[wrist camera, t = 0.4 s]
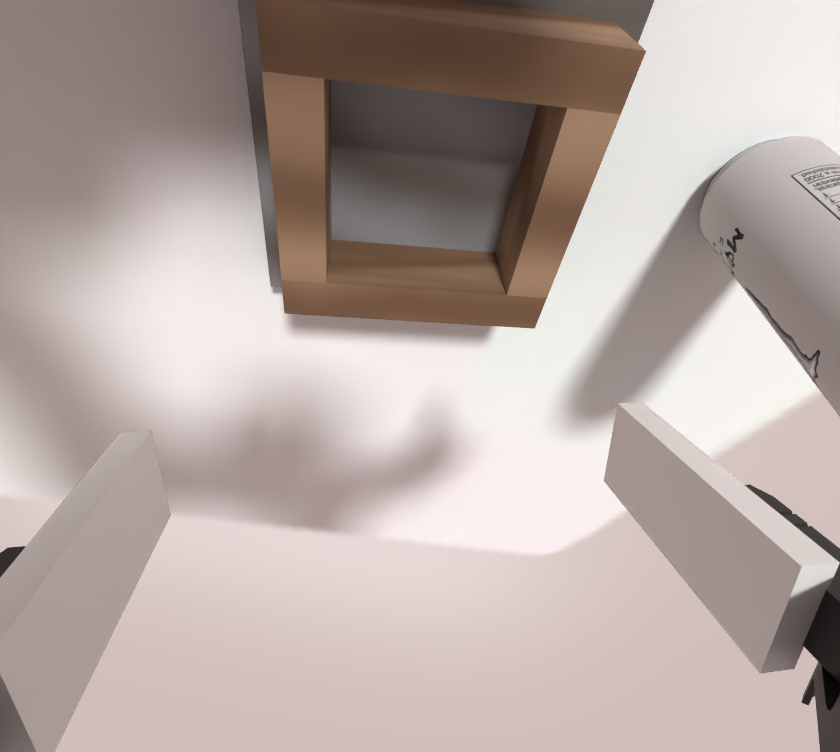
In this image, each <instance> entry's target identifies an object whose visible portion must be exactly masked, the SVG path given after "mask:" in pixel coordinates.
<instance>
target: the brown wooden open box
mask: <svg viewBox="0 0 840 752" xmlns="http://www.w3.org/2000/svg"><path fill="white" fill-rule="evenodd" d="M653 3H654V0H238V6H239V14H240V23H241V32H242V40H243V49H244V58H245V66H246V75H247V84H248V92H249V101H250V110H251V118H252V127H253V136H254V144H255V153H256V162H257V170H258V179H259V188H260V196H261V205H262V214H263V223H264V231H265V240H266V249H267V257H268V266H269V275H270V283H271V286H273V287H282V290H283V300H284V311H285V313H288V314H304V315H321V316H337V317H354V318H371V319H387V320H404V321H420V322H437V323H454V324H470V325H487V326H503V327H520V328H535V326H536V323H537V321H538V318H539V316H540V314H541V311H542V309H543V306H544V304H545V301H546V299H547V296H548V294H549V291H550V289H551V286H552V284H553V281H554V279H555V276H556V274H557V271H558V269H559V266H560V264H561V261H562V259H563V256H564V254H565V251H566V249H567V246H568V244H569V241H570V239H571V236H572V234H573V231H574V229H575V226H576V224H577V221H578V219H579V216H580V214H581V211H582V209H583V206H584V204H585V201H586V199H587V197H588V194H589V192H590V189H591V187H592V184H593V182H594V179H595V177H596V174H597V172H598V169H599V167H600V164H601V162H602V159H603V157H604V154H605V152H606V149H607V147H608V144H609V142H610V139H611V137H612V134H613V132H614V129H615V127H616V124H617V122H618V119H619V117H620V114H621V112H622V109H623V107H624V104H625V102H626V99H627V97H628V94H629V92H630V89H631V87H632V84H633V82H634V80H635V77H636V75H637V72H638V70H639V67H640V65H641V62H642V60H643V57H644V55H645V52H646V51H645V50H644V49H643V48H642V47H641V46H640V45H639V44H638V41H639V39H640V36H641V34H642V31H643V28H644V26H645V23H646V21H647V18H648V15H649V13H650V10H651V8H652V5H653Z"/></svg>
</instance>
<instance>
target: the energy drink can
mask: <svg viewBox="0 0 840 752" xmlns="http://www.w3.org/2000/svg"><path fill="white" fill-rule="evenodd" d="M699 220H700V229H701V231H702V233H703V235H704V237H705V238H706V240H707V241H708V242H709V244H710V245H711V246H712V248H713V249H714V250H715V251H716V253H717V254H718V255H719V257H720V258H721V259H722V261H723V262H724V263H725V265H726V266H727V267H728V269H729V270H730V271H731V273H732V274H733V275H734V277H735V278H736V279H737V281H738V282H739V283H740V285H741V286H742V287H743V289H744V290H745V291H746V293H747V294H748V295H749V297H750V298H751V299H752V301H753V302H754V303H755V305H756V306H757V307H758V309H759V310H760V311H761V313H762V314H763V315H764V317H765V318H766V319H767V321H768V322H769V323H770V325H771V326H772V327H773V329H774V330H775V331H776V333H777V334H778V335H779V337H780V338H781V339H782V341H783V342H784V343H785V345H786V346H787V347H788V348H789V350H790V351H791V352H792V354H793V355H794V356H795V358H796V359H797V360H798V362H799V363H800V364H801V366H802V367H803V368H804V370H805V371H806V372H807V374H808V375H809V376H810V378H811V379H812V380H813V382H814V383H815V384H816V386H817V387H818V388H819V390H820V391H821V392H822V394H823V395H824V396H825V398H826V399H827V400H828V402H829V403H830V404H831V406H832V407H833V408H834V410H835V411H836V412H837V414H838V415H839V416H840V156H839V155H838V154H836V153H835V152H834V151H832V150H831V149H830V148H829V147H827V146H826V145H825V144H823V143H822V142H821V141H819V140H816V139H814V138H811V137H804V136H793V137H785V138H781V139H775V140H769V141H765V142H762V143H759V144H756V145H754V146H752V147H750V148H748V149H746V150H744V151H743V152H741V153H739V154H738V155H736V156H735V157H734V158H733V159H731V160H730V161H729V162H727V163H726V164H725V165H724V166H723V168H722V169H721V170H720V171H719V172H718V173H717V174H716V176H715V177H714V178H713V180H712V181H711V183H710V185H709V187H708V188H707V191H706V193H705V196H704V201H703V205H702V208H701V212H700V219H699Z"/></svg>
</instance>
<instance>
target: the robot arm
mask: <svg viewBox="0 0 840 752" xmlns="http://www.w3.org/2000/svg"><path fill="white" fill-rule="evenodd" d="M604 482H605V483H606V484H607V485H608V487H609V488H610V489H611V490H612V492H613V493H614V494H615V495H616V497H617V498H618V499H619V500H620V501H621V503H622V504H623V505H624V506H625V508H626V509H627V510H628V511H629V513H630V514H631V515H632V516H633V517H634V519H635V520H636V521H637V522H638V523H639V525H640V526H641V527H642V529H643V530H644V531H645V532H646V534H647V535H648V536H649V537H650V538H651V540H652V541H653V542H654V543H655V545H656V546H657V547H658V548H659V549H660V551H661V552H662V553H663V554H664V556H665V557H666V558H667V559H668V561H669V562H670V563H671V564H672V566H673V567H674V568H675V569H676V571H677V572H678V573H679V574H680V575H681V577H682V578H683V579H684V580H685V582H686V583H687V584H688V585H689V587H690V588H691V589H692V590H693V592H694V593H695V594H696V595H697V596H698V598H699V599H700V600H701V601H702V603H703V604H704V605H705V606H706V608H707V609H708V610H709V611H710V612H711V614H712V615H713V616H714V617H715V619H716V620H717V621H718V622H719V623H720V625H721V626H722V627H723V628H724V630H725V631H726V632H727V633H728V635H729V636H730V637H731V638H732V640H733V641H734V642H735V643H736V644H737V646H738V647H739V648H740V650H741V651H742V652H743V653H744V654H745V656H746V657H747V658H748V659H749V661H750V662H751V663H752V664H753V666H754V667H755V668H756V669H757V670H758V672H759V673H766V672H773V671H781V670H788V669H794V668H795V666H796V664H797V661H798V659H799V657H800V654H801V652H802V650H803V647H805V648H806V649H807V650H808V651H809V652H810V653H811V654H812V655H813V656H814V657H815V658H816V659H817V661H818V664H817V666H816V668H815V671H814V673H813V675H812V677H811V679H810V681H809V684H808V686H807V688H806V690H805V692H804V695H803V699H802V703H804V704H806V705H809V703H810V701H811V699H812V697H814V696H815V699H816V710H817V720H818V732H819V743H820V752H840V548H838V547H837V546H836V545H834V544H833V543H832V542H831V541H829V540H828V539H827V538H826V537H824V536H823V535H822V534H820V533H819V532H818V531H817V530H815V529H814V528H813V527H812V526H809V527H808V525H807V523H806V522H805V521H804V520H803V519H801V518H800V517H799V516H797V515H796V514H792V511H791V510H790V509H789V508H787V507H786V506H785V505H783V504H782V503H781V502H779V501H778V500H777V499H776V498H774V497H773V496H771V495H769V494H767V493H765V492H763V491H761V490H759V489H757V488H755V487H753V486H751V485H743V484H742V483H741V482H740V481H739V480H737V479H736V478H735V477H734V476H732V475H731V474H730V473H729V472H727V471H726V470H725V469H724V468H723V467H721V466H720V465H719V464H718V463H716V462H715V461H714V460H713V459H711V458H710V457H709V456H708V455H707V454H705V453H704V452H703V451H702V450H700V449H699V448H698V447H697V446H695V445H694V444H693V443H692V442H690V441H689V440H688V439H687V438H686V437H684V436H683V435H682V434H681V433H679V432H678V431H677V430H676V429H674V428H673V427H672V426H671V425H670V424H668V423H667V422H666V421H665V420H663V419H662V418H661V417H660V416H658V415H657V414H656V413H655V412H653V411H652V410H651V409H650V408H649V407H647V406H646V405H645V404H644V403H642V402H632V403H618V404H617V410H616V416H615V421H614V427H613V432H612V438H611V444H610V449H609V455H608V461H607V466H606V472H605V477H604ZM170 515H171V514H170V510H169V505H168V501H167V497H166V492H165V488H164V484H163V479H162V475H161V471H160V466H159V462H158V458H157V453H156V449H155V445H154V440H153V436H152V432H151V430H148V431H131V432H120V433H119V434H118V436H117V437H116V438H115V439H114V440H113V442H112V443H111V444H110V445H109V446H108V448H107V449H106V450H105V451H104V452H103V454H102V455H101V456H100V457H99V459H98V460H97V461H96V462H95V463H94V465H93V466H92V467H91V468H90V469H89V471H88V472H87V473H86V474H85V476H84V477H83V478H82V479H81V480H80V482H79V483H78V484H77V485H76V486H75V488H74V489H73V490H72V491H71V492H70V494H69V495H68V496H67V497H66V499H65V500H64V501H63V502H62V503H61V505H60V506H59V507H58V508H57V509H56V511H55V512H54V513H53V514H52V516H51V517H50V518H49V519H48V520H47V522H46V523H45V524H44V525H43V526H42V528H41V529H40V530H39V531H38V532H37V534H36V535H35V536H34V537H33V539H32V540H31V541H30V542H29V544H28V545H27V546H23V547H11V548H7V549H5V550H4V551H3V552H1V553H0V752H55V750H56V748H57V746H58V744H59V742H60V740H61V738H62V736H63V734H64V732H65V730H66V728H67V725H68V723H69V721H70V719H71V717H72V715H73V713H74V711H75V709H76V707H77V705H78V703H79V701H80V699H81V697H82V695H83V693H84V691H85V689H86V687H87V685H88V683H89V681H90V679H91V677H92V674H93V672H94V670H95V668H96V666H97V664H98V662H99V660H100V658H101V656H102V654H103V652H104V650H105V648H106V646H107V644H108V642H109V640H110V638H111V636H112V634H113V632H114V629H115V627H116V625H117V624H118V621H119V619H120V617H121V615H122V613H123V611H124V609H125V607H126V605H127V603H128V601H129V599H130V597H131V595H132V593H133V591H134V589H135V587H136V585H137V583H138V581H139V579H140V577H141V575H142V572H143V570H144V568H145V566H146V564H147V562H148V560H149V558H150V556H151V554H152V552H153V550H154V548H155V546H156V544H157V542H158V540H159V538H160V536H161V534H162V532H163V530H164V528H165V526H166V523H167V521H168V519H169V517H170Z"/></svg>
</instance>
